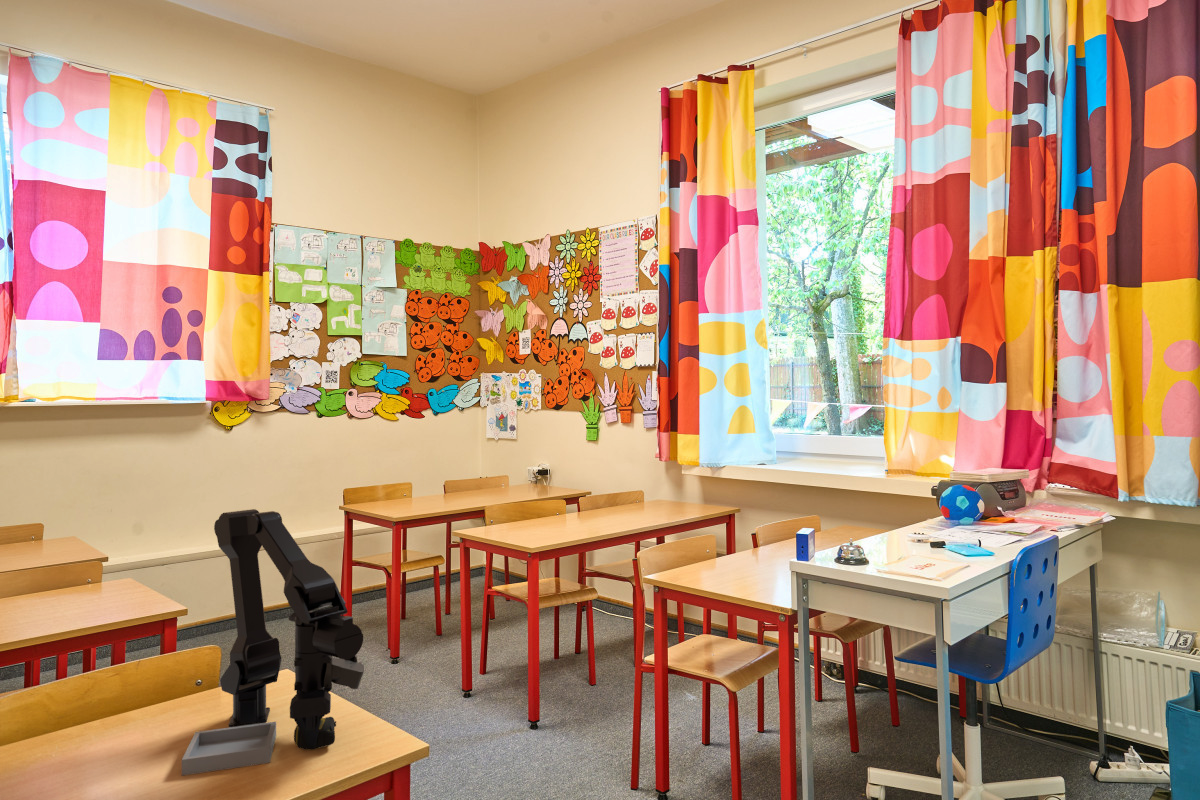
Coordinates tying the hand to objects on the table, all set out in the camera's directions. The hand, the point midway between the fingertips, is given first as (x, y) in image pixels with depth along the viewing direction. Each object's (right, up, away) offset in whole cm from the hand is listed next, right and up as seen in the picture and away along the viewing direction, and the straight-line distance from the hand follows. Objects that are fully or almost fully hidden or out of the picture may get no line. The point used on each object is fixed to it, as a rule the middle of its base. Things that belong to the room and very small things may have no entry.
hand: (313, 738), depth 130 cm
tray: (-13, -1, -3) cm, 13 cm away
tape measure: (+1, -1, +1) cm, 2 cm away
